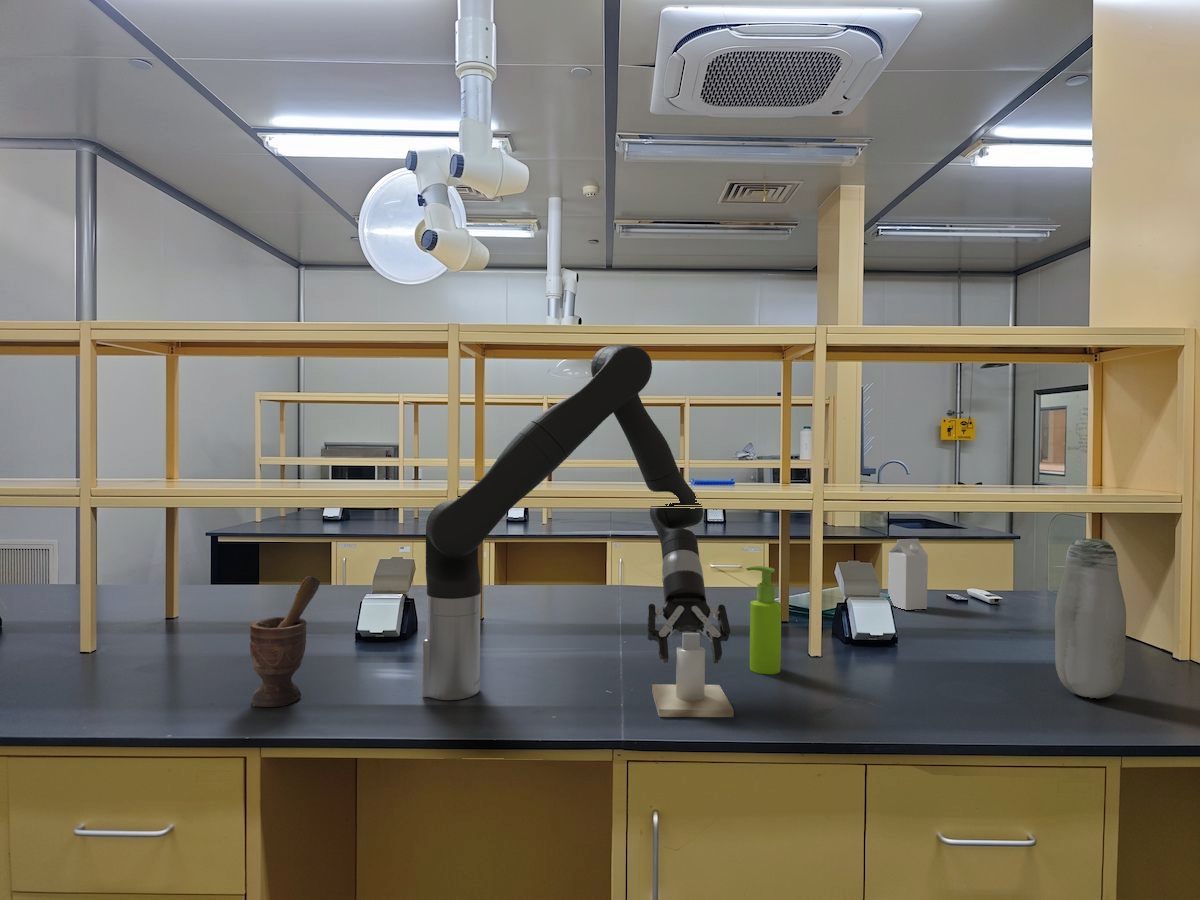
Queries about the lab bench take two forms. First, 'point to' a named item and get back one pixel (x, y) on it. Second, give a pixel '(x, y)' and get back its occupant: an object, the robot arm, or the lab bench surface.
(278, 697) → the mortar and pestle
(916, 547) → the milk carton
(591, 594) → the lab bench surface
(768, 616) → the soap dispenser
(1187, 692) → the lab bench surface
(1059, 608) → the grey bottle
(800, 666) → the lab bench surface
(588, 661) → the lab bench surface
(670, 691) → the board
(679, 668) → the white bottle
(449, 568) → the robot arm
